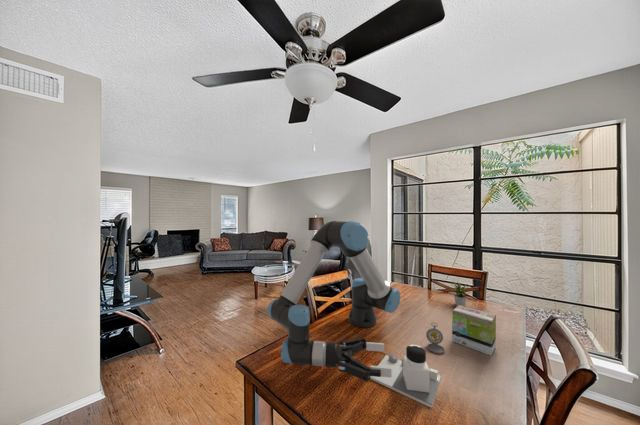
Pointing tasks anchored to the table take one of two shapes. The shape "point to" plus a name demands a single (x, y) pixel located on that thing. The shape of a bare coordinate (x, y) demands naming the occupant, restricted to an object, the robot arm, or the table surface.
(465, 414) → the table surface
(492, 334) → the tea box
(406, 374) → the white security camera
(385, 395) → the table surface
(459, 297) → the house plant
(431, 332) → the pocket watch
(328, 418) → the table surface
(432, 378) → the board
